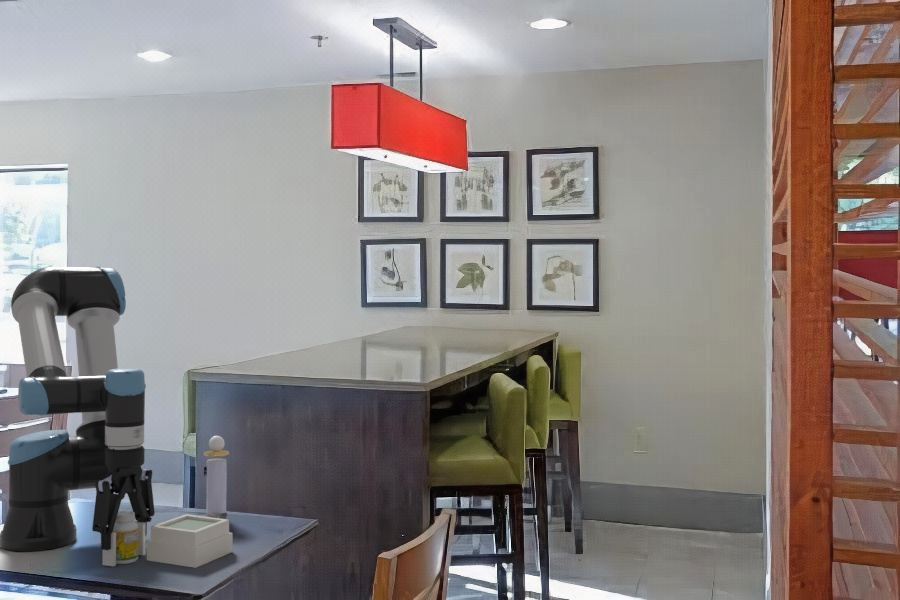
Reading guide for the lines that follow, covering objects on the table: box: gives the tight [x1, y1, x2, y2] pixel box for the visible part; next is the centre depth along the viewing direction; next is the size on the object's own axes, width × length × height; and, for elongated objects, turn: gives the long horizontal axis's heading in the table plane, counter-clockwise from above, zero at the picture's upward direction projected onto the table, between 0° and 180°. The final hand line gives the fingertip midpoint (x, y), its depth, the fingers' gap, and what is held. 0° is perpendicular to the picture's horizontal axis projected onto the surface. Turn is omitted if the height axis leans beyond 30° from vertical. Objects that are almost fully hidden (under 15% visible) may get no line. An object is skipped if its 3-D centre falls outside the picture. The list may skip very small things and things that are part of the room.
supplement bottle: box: [113, 510, 139, 565], centre depth 187 cm, size 5×5×10 cm
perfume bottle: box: [203, 435, 230, 514], centre depth 219 cm, size 6×6×20 cm
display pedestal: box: [146, 513, 234, 569], centre depth 190 cm, size 12×12×7 cm
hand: (124, 559), depth 187 cm, fingers open, 8 cm apart
